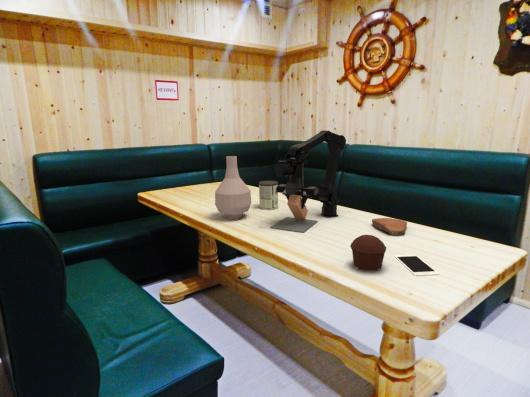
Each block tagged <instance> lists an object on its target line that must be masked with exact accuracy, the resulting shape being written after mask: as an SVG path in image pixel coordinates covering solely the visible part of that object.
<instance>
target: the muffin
mask: <svg viewBox="0 0 530 397" xmlns="http://www.w3.org/2000/svg"><path fill="white" fill-rule="evenodd" d="M350 248H351V253H352V260H353V261H352V262H353V267H355V268H357V269H358V270H361V271H365V272H375V271H376V272H377V271H378V270H381V269H382V265H383V262H384V257H385V254H386V251H387V246H386V245H385V244H384V242H383V240H381V239H380V238H378V237H377V236H375V235H373V234H362V235H359V236H358V237H357V236H356V238H354V240H353V241H351V243H350Z"/></svg>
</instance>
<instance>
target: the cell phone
mask: <svg viewBox="0 0 530 397" xmlns="http://www.w3.org/2000/svg"><path fill="white" fill-rule="evenodd" d="M393 257H394V258H395V259H396V260H397V261H399V263H401V264H402V265H403V266H404V267H405V268H406V269H407V270H408V271H409V272H411V274H412V275H413V276H414V277H415V276H416V277H419V276H420V277H421V276H422V277H423V276H424V277H425V276H426V277H427V276H438V275H440V273H439V272H438V271H437V270H435V269H434V268H433V267H432V266H431V265H429V264H428V263H427V262H425V261H424V260H423V259H422V258H421V257H419V256H418V255H417V254H398V255H394V256H393Z"/></svg>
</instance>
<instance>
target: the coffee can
mask: <svg viewBox="0 0 530 397" xmlns="http://www.w3.org/2000/svg"><path fill="white" fill-rule="evenodd" d="M278 185H279V181H276V180H261V181H259V182H258V189H259V193H258V194H259V195H258V197H259V209H260V210H263V211H273V210H277V209H279V192H276V187H277V186H278Z"/></svg>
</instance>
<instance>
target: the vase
mask: <svg viewBox="0 0 530 397" xmlns="http://www.w3.org/2000/svg"><path fill="white" fill-rule="evenodd" d="M237 158H238V156H236V155H228V156H227V155H226V156H225V159H226V170H225V175H224V178H223V180H222V182H221V183H220V184H219V186H218V187H217V188H216V189H215V191H214V205H215V207H216V209H217V211H218V213H221V214H223V215H226V218H228V219H231V220H236V219H240V218H241V215H243V214H244V213H246V212H249V210H250V208H251V204H252V195H251V194H252V193H251V192H252V191H251V189H250V188H249V187H248V185H246V183H245V182H244V181H243V179H242V178H241V177H240V173H239V169H238V159H237Z"/></svg>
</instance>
